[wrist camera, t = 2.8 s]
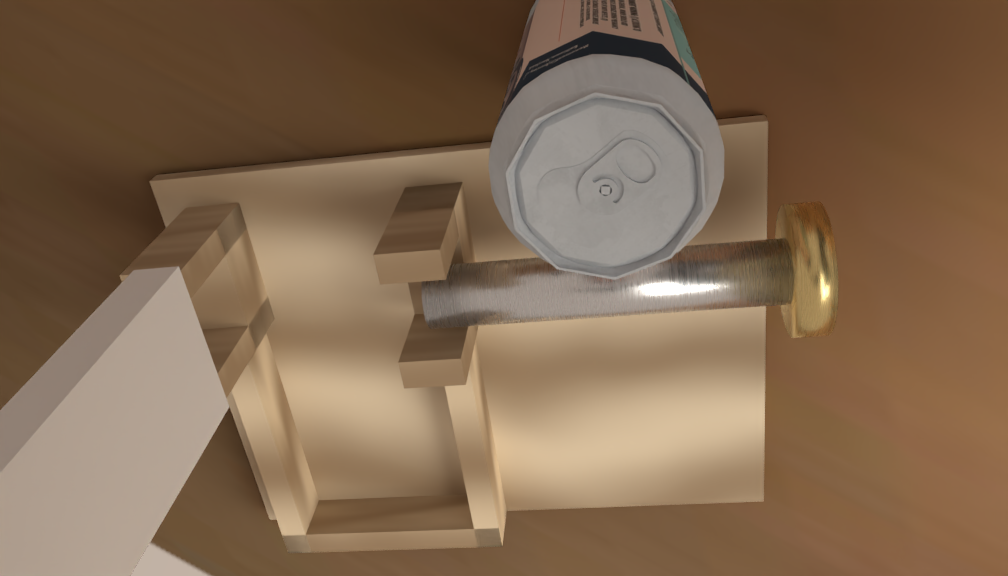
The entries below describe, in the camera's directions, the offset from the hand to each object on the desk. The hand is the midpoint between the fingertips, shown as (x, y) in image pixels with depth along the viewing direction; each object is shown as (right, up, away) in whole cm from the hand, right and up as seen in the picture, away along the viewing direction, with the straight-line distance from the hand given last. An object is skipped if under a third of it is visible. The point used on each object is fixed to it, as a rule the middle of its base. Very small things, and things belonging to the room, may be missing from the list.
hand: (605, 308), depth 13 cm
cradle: (-2, -2, +20) cm, 20 cm away
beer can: (+2, +8, +14) cm, 17 cm away
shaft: (+2, +1, +15) cm, 16 cm away
